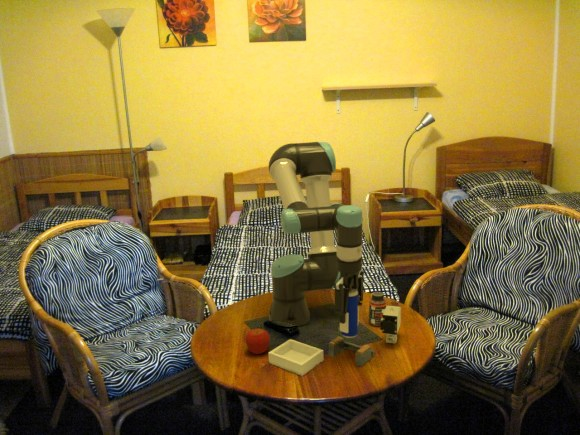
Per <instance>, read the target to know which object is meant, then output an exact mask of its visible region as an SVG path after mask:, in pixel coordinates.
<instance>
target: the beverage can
mask: <svg viewBox="0 0 580 435" xmlns="http://www.w3.org/2000/svg"><path fill="white" fill-rule="evenodd" d="M347 289H348V288H347ZM347 313H348V333H345V332H342V331H340V334H341V336H343V337H344V338H347V339H351V338H355V337H357V335H358V332H359V328H358V326H359V325H358V292H357V289H352V290H351V292H350V293H349V300H348V307H347Z"/></svg>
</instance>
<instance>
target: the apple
mask: <svg viewBox="0 0 580 435" xmlns="http://www.w3.org/2000/svg"><path fill="white" fill-rule="evenodd" d="M245 343H246V347H247V349H248V350H249V351H250V352H251V353H252V354H255V355H261V354H263V353H265V352H267V350H268V348H269V346H270V343H271V336H270V334H269V332H268V331H266V330H265V329H263V328H253V329H250V330H249V331H247V333H246V336H245Z"/></svg>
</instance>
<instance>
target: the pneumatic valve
mask: <svg viewBox="0 0 580 435" xmlns="http://www.w3.org/2000/svg"><path fill="white" fill-rule="evenodd" d="M382 313H383V316H382V319H381V324H380V326H379V327H380V331H381V332H382V334H385V343H387V344H388V343H389V344H397V340H398V333H399V328H400V326H401V321H402V306H401V305H395V304H394V305H393V304H392V305H391V304H386V309H383V310H382Z"/></svg>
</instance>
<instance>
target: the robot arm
mask: <svg viewBox="0 0 580 435" xmlns="http://www.w3.org/2000/svg"><path fill="white" fill-rule="evenodd" d="M336 162H337V160H336V156H335V152H334V149H333V147H332V145H331V144H330V143H329V142H325V141H311V142H309V141H308V142H296V143H293V142H292V143H286V144H284V145H281V146H279V147H278V148H277V149H276V150H275V151H274V153H272V155H271V157H270V159H269V162H268V171H269V172H268V173H269V175H270V177H271V179H272V180H273V181H275V186H276V188H277V192H278V195H279V197H280V200H281V203H282V207H283V210H282V211H281V213H280V223H281V229H282V232H283V233H284V234H295V235H296V234H297V235H298V234H305V233H309V238H310V250H309V251H308V252H307V258H304V256H303V255H301V254H294V253H293V254H291V253H290V254H286V255H282V256H279V257H278V258H276V259H274V261H273V262H272V264H271V283H272V284H271V285H272V287H271V288H272V301H271V304H270V308H269V311H268V321H269V320H276V321H282V322H286V323H289V324H292V325H295V326H298V327H301V325H302V326H304V325H306V324H308V323H309V322H310V320H311V312H310V309H309V308H308V304H307V301H306V297H305V295H306V294H305V293H306V292H312V291H314V292H315V291H322V290H323V291H325V290H333V289H334V313H337V314H339V316H338V318H339V319H338V320H339V322H338V323H339V331H340V332H341V331H342V332H345V333H348V313H347V307H348V300H349V293H350V292H351V290H352V289H357V292H358V326H359V324H360V323H359V322H360V321H359V319H360V316H359V315H360V314H359V313H360V311H359V310H360V306H362V305H363V301H364V277H365V271H363V270H362V269H363V259H362V256H363V222H364V217H363V209H362V208H361V207H360V206H357V205H353V204H352V205H351V204H348V205H347V204H346V205H345V204H342V203H340V202H333V203H331V195H330V185H329V182H330V180H331V179H332V178H333V175H332V174H333V173H335V172H336V169H337V165H336V164H337V163H336ZM297 176H299V177H300V181H301V182H302V183H303V184H304V185H305V186H304V188H305V195H304V192H303V189H302V186H301V184H300V182H299V179H298V177H297ZM305 196H306V197H305ZM334 231H336V246H335V235H334ZM347 288H348V289H347ZM307 322H308V323H307Z"/></svg>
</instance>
